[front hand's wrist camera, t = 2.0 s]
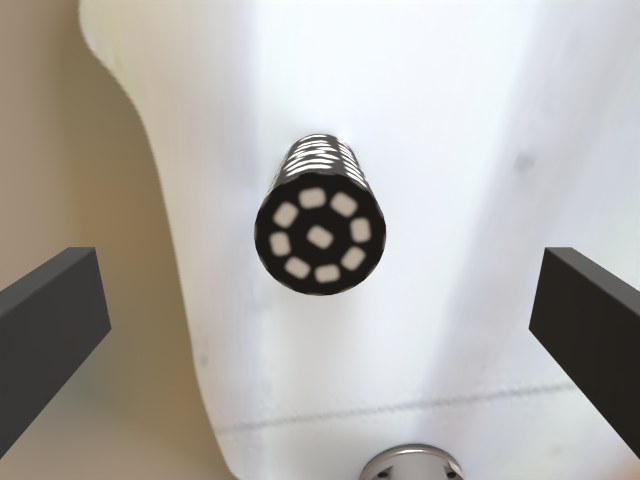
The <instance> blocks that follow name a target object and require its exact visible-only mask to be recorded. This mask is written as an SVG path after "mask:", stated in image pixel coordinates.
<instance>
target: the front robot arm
mask: <svg viewBox="0 0 640 480" xmlns="http://www.w3.org/2000/svg"><path fill="white" fill-rule="evenodd" d="M110 330H111V324H110V319H109V315H108V310H107V305H106V300H105V295H104V290H103V285H102V280H101V276H100V271H99V266H98V261H97V256H96V251H95V248H94V247H82V248H81V247H74V248H73V247H69V248H67V249H65V250H64V251H62V252H61V253H59V254H58V255H56V256H55V257H53V258H52V259H50V260H48V261H47V262H45V263H44V264H42V265H41V266H39V267H38V268H36V269H35V270H33V271H32V272H30V273H28V274H27V275H25V276H24V277H22V278H21V279H19V280H18V281H16V282H15V283H13V284H12V285H10V286H8V287H7V288H5V289H4V290H2V291H1V292H0V459H1V458H2V457H3V456H4V454H5V453H6V452H7V451H8V450H9V449H10V447H11V446H12V445H13V444H14V443H15V442H16V440H17V439H18V438H19V437H20V436H21V434H22V433H23V432H24V431H25V430H26V429H27V427H28V426H29V425H30V424H31V423H32V422H33V420H34V419H35V418H36V417H37V416H38V415H39V413H40V412H41V411H42V410H43V409H44V407H45V406H46V405H47V404H48V403H49V402H50V400H51V399H52V398H53V397H54V396H55V395H56V393H57V392H58V391H59V390H60V389H61V388H62V386H63V385H64V384H65V383H66V382H67V381H68V379H69V378H70V377H71V376H72V375H73V373H74V372H75V371H76V370H77V369H78V368H79V366H80V365H81V364H82V363H83V362H84V361H85V359H86V358H87V357H88V356H89V355H90V354H91V352H92V351H93V350H94V349H95V348H96V346H97V345H98V344H99V343H100V342H101V341H102V339H103V338H104V337H105V336H106V335H107V334H108V332H109V331H110ZM529 330H530V331H531V332H532V334H533V335H534V336H535V337H536V338H537V339H538V341H539V342H540V343H541V344H542V345H543V347H544V348H545V349H546V350H547V351H548V352H549V354H550V355H551V356H552V357H553V358H554V359H555V361H556V362H557V363H558V364H559V365H560V366H561V368H562V369H563V370H564V371H565V372H566V373H567V375H568V376H569V377H570V378H571V379H572V381H573V382H574V383H575V384H576V385H577V386H578V388H579V389H580V390H581V391H582V392H583V393H584V395H585V396H586V397H587V398H588V399H589V400H590V402H591V403H592V404H593V405H594V406H595V407H596V409H597V410H598V411H599V412H600V413H601V415H602V416H603V417H604V418H605V419H606V420H607V422H608V423H609V424H610V425H611V426H612V427H613V429H614V430H615V431H616V432H617V433H618V434H619V436H620V437H621V438H622V439H623V440H624V442H625V443H626V444H627V445H628V446H629V447H630V449H631V450H632V451H633V452H634V453H635V454H636V456H637V457H638V458H639V459H640V292H639V291H638V290H636V289H635V288H633V287H632V286H630V285H629V284H627V283H625V282H624V281H622V280H621V279H619V278H618V277H616V276H615V275H613V274H612V273H610V272H609V271H607V270H605V269H604V268H602V267H601V266H599V265H598V264H596V263H595V262H593V261H592V260H590V259H588V258H587V257H585V256H584V255H582V254H581V253H579V252H578V251H576V250H575V249H573V248H572V247H545V251H544V256H543V261H542V266H541V271H540V275H539V280H538V285H537V290H536V295H535V300H534V305H533V310H532V315H531V319H530V324H529ZM359 480H466V479H465V476H464V474H463V473H462V471H461V468H460V466H459V464H458V463H457V462H456V460H455V459H454V458H453V457H452V456H450V455H449V454H448V453H446V452H444V451H442V450H440V449H438V448H435V447H431V446H427V445H416V444H414V445H403V446H398V447H394V448H391V449H389V450H386V451H384V452H382V453H380V454H379V455H377V456H376V457H374V458H373V459H372V460H371V461H370V462H369V463H368V464H367V465H366V466H365V468H364V469H363V471H362V473H361V476H360V479H359Z"/></svg>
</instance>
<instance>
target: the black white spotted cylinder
mask: <svg viewBox="0 0 640 480" xmlns="http://www.w3.org/2000/svg"><path fill="white" fill-rule="evenodd" d="M254 239H255V246H256V250H257V253H258V255H259V258H260V260H261V262H262V264H263V265H264V267H265V268H266V270H267V271H268V272H269V273H270V274H271V275H272V276H273V278H274V279H276V280H277V281H278V282H280V283H281V284H282V285H284V286H286V287H288V288H290V289H292V290H294V291H296V292H300V293H303V294H307V295H316V296H324V295H333V294H337V293H341V292H344V291H346V290H349V289H351V288H353V287H355V286H356V285H358V284H359V283H361V282H362V281H364V280H365V279H366V278H367V277H368V276H369V275H370V274H371V273H372V272H373V270H374V269H375V267H376V266H377V264H378V263H379V261H380V259H381V256H382V254H383V251H384V247H385V242H386V225H385V221H384V216H383V213H382V211H381V209H380V207H379V205H378V203H377V201H376V199H375V197H374V194H373V192H372V190H371V188H370V186H369V184H368V182H367V180H366V178H365V176H364V174H363V172H362V170H361V168H360V166H359V164H358V162H357V159H356V157H355V155H354V153H353V152H352V150H351V149H350V148H349V146H348V145H346V144H345V143H344V142H343V141H341V140H340V139H338V138H336V137H333V136H330V135H325V134H314V135H310V136H307V137H304V138H302V139H300V140H299V141H297V142H296V143H295V144H294V145H293V146H292V147H291V148H290V149H289V151H288V152H287V154H286V156H285V158H284V160H283V162H282V164H281V166H280V168H279V170H278V172H277V174H276V176H275V178H274V180H273V182H272V185H271V187H270V189H269V191H268V193H267V195H266V197H265V199H264V201H263V203H262V205H261V207H260V209H259V211H258V214H257V218H256V222H255V230H254Z"/></svg>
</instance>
